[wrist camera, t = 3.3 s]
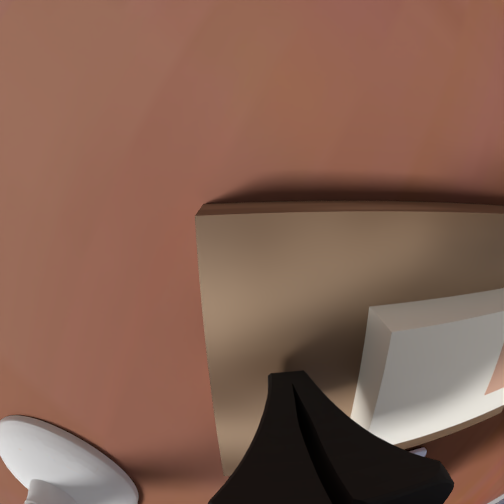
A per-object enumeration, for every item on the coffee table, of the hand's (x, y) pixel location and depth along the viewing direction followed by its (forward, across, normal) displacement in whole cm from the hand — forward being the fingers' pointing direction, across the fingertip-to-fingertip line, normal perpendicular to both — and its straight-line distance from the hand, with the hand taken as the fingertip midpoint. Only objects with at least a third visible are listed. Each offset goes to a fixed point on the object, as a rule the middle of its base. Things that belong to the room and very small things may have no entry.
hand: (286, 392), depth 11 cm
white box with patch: (0, -8, 0) cm, 8 cm away
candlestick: (+4, +16, +13) cm, 21 cm away
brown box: (+4, -6, 0) cm, 7 cm away
